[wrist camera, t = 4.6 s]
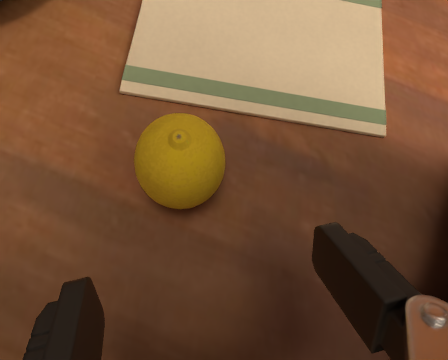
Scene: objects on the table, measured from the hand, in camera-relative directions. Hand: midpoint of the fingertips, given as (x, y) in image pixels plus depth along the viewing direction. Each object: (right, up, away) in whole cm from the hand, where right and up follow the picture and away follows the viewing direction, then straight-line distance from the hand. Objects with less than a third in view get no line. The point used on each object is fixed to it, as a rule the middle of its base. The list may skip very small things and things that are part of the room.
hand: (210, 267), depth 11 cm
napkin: (+4, +16, +17) cm, 23 cm away
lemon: (-3, +3, +12) cm, 13 cm away
